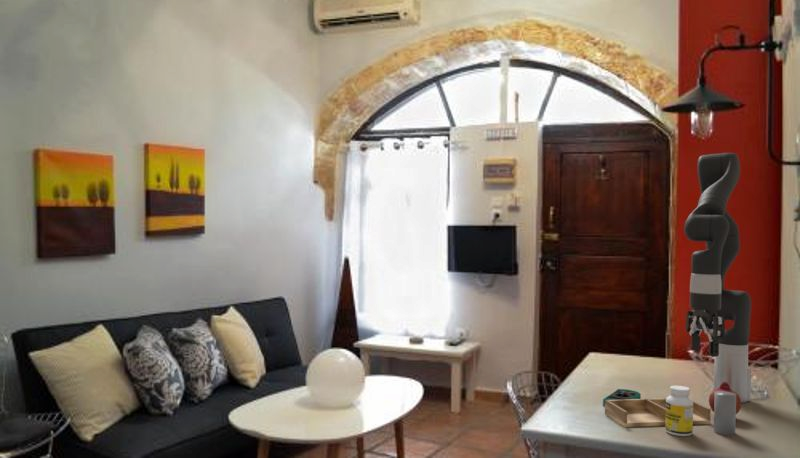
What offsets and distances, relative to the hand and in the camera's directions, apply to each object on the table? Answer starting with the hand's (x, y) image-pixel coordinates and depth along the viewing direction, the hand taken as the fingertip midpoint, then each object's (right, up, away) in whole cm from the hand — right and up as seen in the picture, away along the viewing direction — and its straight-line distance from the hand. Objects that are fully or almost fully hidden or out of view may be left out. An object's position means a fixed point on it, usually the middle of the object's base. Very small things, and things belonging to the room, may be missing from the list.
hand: (704, 353), depth 177 cm
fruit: (+10, -20, +10) cm, 24 cm away
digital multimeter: (-13, -20, +24) cm, 34 cm away
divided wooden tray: (-9, -20, +8) cm, 23 cm away
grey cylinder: (+4, -20, -3) cm, 20 cm away
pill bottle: (-8, -20, -4) cm, 22 cm away
